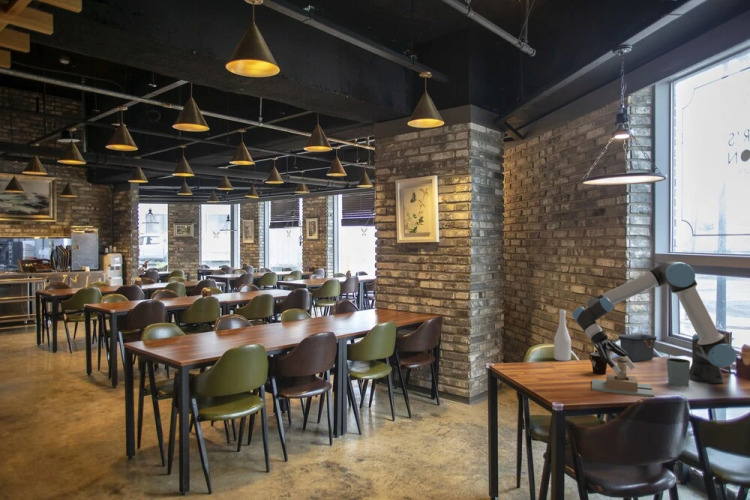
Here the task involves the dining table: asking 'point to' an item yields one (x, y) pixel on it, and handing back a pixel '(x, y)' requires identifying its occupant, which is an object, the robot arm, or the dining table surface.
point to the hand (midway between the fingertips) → (626, 370)
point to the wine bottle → (562, 340)
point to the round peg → (622, 368)
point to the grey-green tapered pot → (678, 371)
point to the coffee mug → (598, 364)
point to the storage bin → (638, 346)
